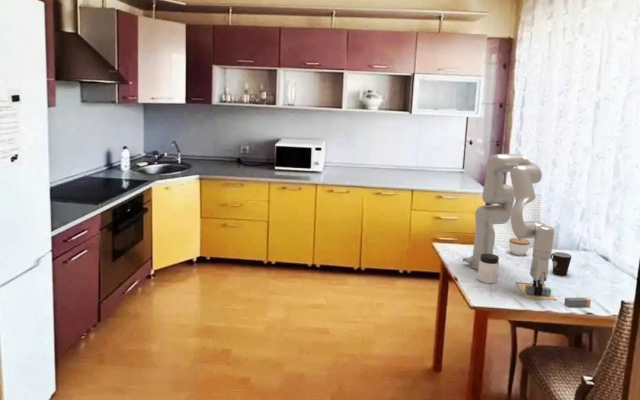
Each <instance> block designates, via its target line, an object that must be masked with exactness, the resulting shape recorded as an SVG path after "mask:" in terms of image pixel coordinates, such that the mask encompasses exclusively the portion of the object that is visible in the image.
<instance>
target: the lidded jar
mask: <svg viewBox="0 0 640 400" xmlns="http://www.w3.org/2000/svg"><path fill="white" fill-rule="evenodd" d="M508 244H509V245H508V246H509V250H510V252H511V253H513V255H514V254H515V256H521V257H522V256H525V254H527V253H528V251H529V249H530V244H531V241H530V240H529V239H520V238H518V237H511V238H509V243H508Z"/></svg>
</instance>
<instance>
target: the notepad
mask: <svg viewBox="0 0 640 400" xmlns="http://www.w3.org/2000/svg"><path fill="white" fill-rule="evenodd" d="M515 284H516V286H517V287H518V289H519V290H520V291H521V293H522V294H523V295H524V297H525V299H536V300H539V299H540V300H548V301H549V300H550V301H557V297H555V296H554V295H553V293H552V292H551V294H550V296H537V295H532V294H526V292H525V288H526V285H529V286H533V284H534V283H533V282H531V283H530V282H522V281H521V282H519V281H515ZM543 287H547V286H546V284H545V283H544V285H543Z"/></svg>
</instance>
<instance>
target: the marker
mask: <svg viewBox="0 0 640 400" xmlns="http://www.w3.org/2000/svg"><path fill="white" fill-rule="evenodd" d="M534 290H535V286H529V285H526V288H525V292H526V294H532V295H534ZM551 293H552V289H551V288H550V287H547V286H546V287H543V289H542V295H541V296H550V294H551Z"/></svg>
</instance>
